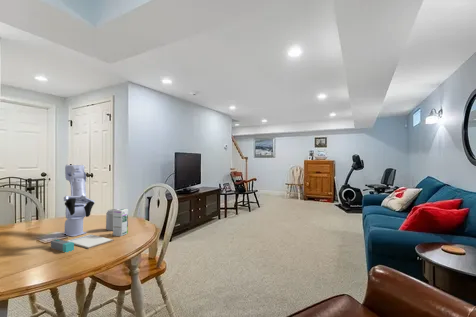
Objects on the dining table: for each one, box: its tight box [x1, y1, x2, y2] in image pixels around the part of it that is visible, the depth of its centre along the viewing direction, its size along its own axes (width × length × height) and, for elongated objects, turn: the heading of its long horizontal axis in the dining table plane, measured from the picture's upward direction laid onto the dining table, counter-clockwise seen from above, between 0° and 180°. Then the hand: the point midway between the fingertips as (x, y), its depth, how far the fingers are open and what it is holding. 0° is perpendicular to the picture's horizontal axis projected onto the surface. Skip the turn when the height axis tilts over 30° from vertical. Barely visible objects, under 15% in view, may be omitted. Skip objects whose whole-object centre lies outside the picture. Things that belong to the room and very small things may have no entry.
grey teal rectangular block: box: [50, 238, 75, 253], centre depth 118 cm, size 12×4×4 cm, turn 64°
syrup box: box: [112, 208, 129, 237], centre depth 143 cm, size 6×6×14 cm
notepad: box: [67, 234, 115, 250], centre depth 129 cm, size 19×14×1 cm
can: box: [105, 208, 117, 232], centre depth 153 cm, size 8×8×12 cm
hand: (80, 215), depth 123 cm, fingers open, 7 cm apart
